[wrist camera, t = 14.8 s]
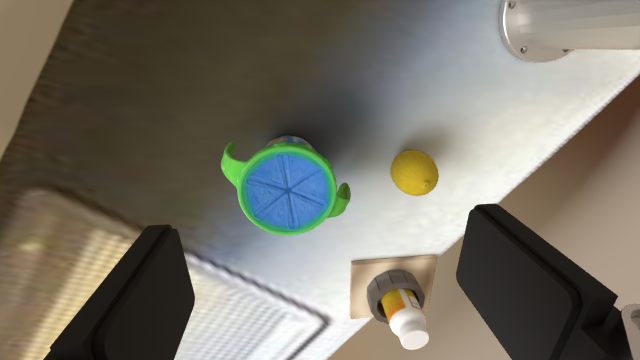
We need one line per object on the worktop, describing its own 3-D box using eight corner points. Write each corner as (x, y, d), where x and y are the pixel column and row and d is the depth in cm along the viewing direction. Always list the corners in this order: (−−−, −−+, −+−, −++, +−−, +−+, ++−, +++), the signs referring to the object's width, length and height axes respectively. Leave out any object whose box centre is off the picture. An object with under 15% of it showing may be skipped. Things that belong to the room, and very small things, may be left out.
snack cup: (218, 167, 40) (197, 203, 31) (252, 97, 37) (239, 114, 27) (318, 213, 44) (326, 257, 35) (357, 154, 41) (376, 185, 32)
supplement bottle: (376, 301, 51) (394, 354, 42) (379, 277, 49) (399, 328, 40) (406, 300, 52) (430, 352, 43) (411, 276, 49) (437, 326, 41)
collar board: (434, 254, 49) (445, 271, 46) (425, 307, 54) (434, 326, 51) (351, 261, 48) (356, 278, 45) (349, 314, 53) (354, 334, 50)
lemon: (392, 138, 40) (414, 158, 33) (428, 148, 41) (457, 170, 34) (377, 174, 42) (395, 200, 35) (412, 183, 43) (436, 210, 36)
